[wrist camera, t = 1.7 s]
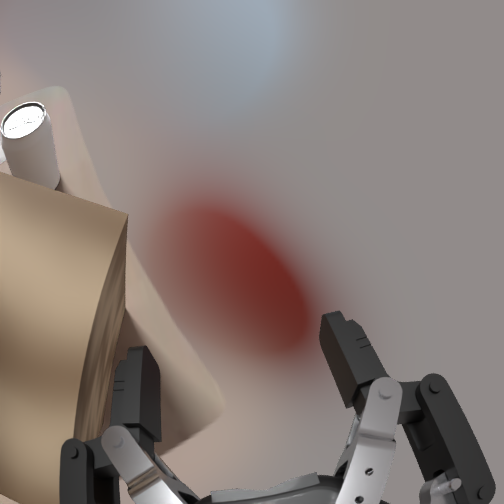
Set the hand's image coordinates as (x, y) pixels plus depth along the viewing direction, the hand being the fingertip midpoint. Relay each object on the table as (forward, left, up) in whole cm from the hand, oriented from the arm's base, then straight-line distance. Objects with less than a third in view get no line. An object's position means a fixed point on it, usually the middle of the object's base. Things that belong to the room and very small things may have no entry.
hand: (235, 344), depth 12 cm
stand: (-11, +13, -22) cm, 28 cm away
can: (+2, +28, -22) cm, 36 cm away
